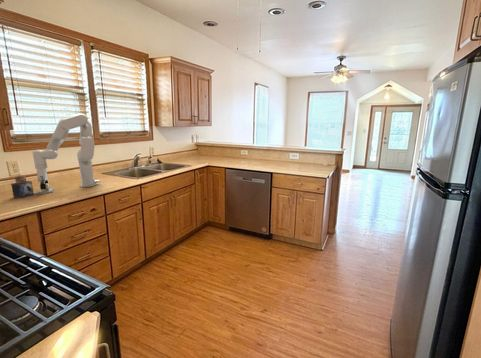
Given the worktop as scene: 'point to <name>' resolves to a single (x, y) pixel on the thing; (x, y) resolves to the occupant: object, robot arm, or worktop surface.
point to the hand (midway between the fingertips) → (45, 187)
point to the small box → (22, 189)
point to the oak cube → (46, 187)
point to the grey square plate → (45, 191)
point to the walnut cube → (20, 179)
